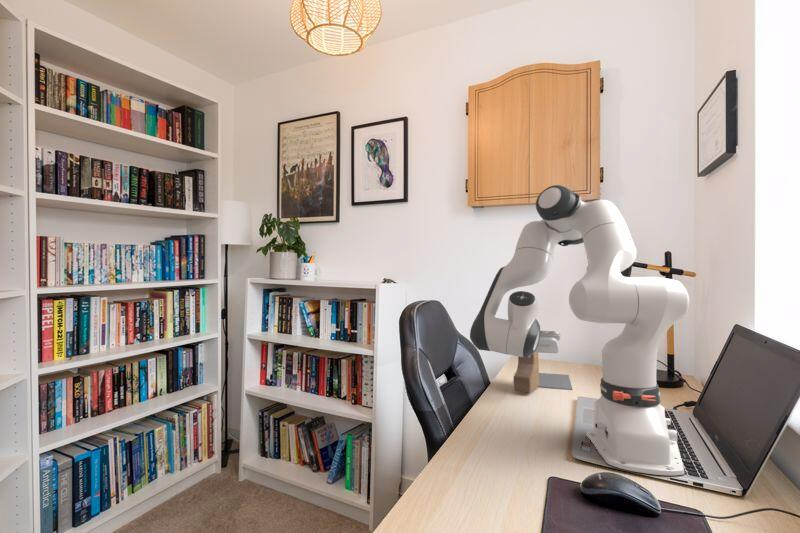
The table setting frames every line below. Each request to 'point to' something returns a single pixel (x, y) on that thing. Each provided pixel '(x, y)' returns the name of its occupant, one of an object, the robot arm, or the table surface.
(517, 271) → the robot arm
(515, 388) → the decorative block
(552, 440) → the table surface
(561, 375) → the felt pad
